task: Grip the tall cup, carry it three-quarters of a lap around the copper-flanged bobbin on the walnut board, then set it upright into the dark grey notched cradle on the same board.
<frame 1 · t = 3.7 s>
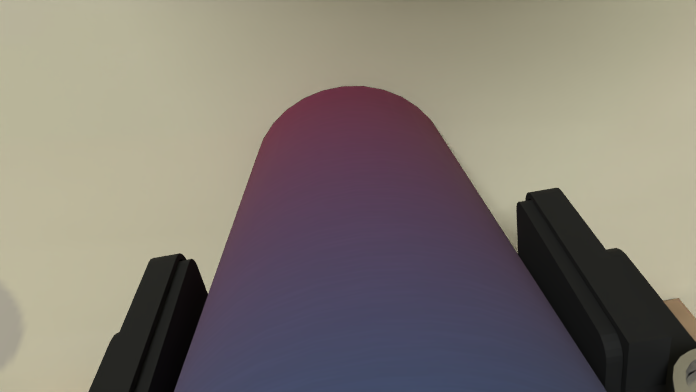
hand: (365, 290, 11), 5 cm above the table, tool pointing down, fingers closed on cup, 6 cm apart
cup: (351, 174, 15), on the table, touching gripper
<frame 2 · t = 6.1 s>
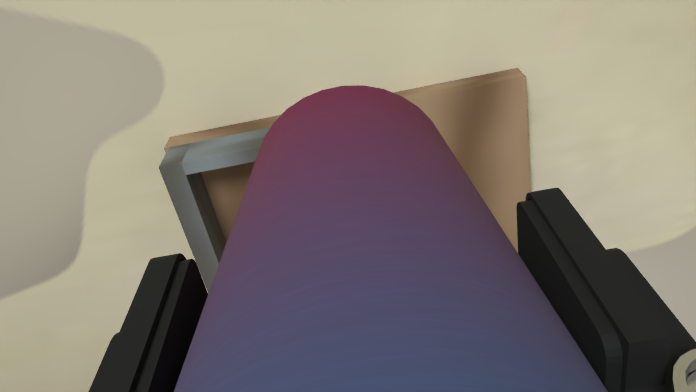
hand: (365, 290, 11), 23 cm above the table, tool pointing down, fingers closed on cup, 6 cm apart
cup: (352, 174, 15), point 18 cm above the table, touching gripper
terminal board: (365, 221, 37), on the table
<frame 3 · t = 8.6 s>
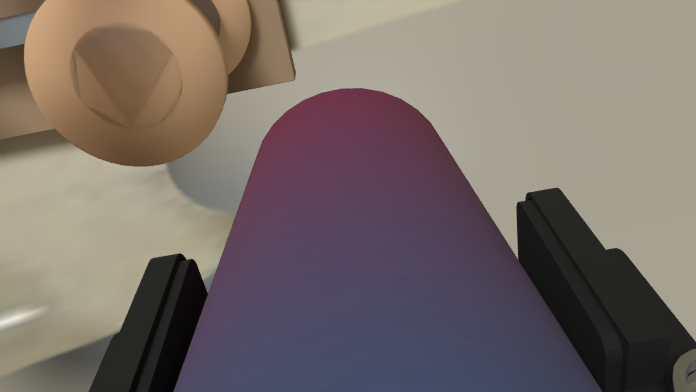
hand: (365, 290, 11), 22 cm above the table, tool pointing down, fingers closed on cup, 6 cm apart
cup: (351, 176, 15), point 17 cm above the table, touching gripper
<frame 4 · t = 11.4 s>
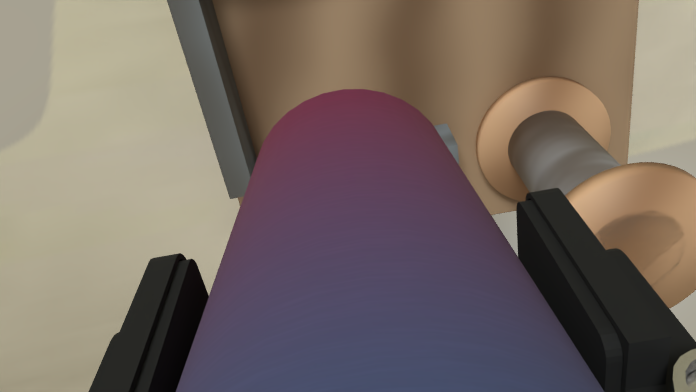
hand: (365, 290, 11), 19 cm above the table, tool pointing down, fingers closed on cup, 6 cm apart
cup: (352, 177, 15), point 14 cm above the table, touching gripper
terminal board: (416, 72, 29), on the table
when the fingers open (7 cm above the table, at t = 13.8 s): cup drops 1 cm, resting on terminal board.
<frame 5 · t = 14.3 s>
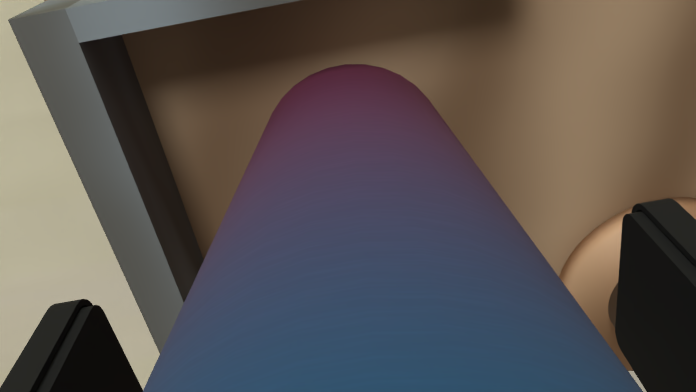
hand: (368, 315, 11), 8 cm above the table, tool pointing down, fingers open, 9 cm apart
cup: (353, 149, 17), point 1 cm above the table, touching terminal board
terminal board: (467, 184, 19), on the table
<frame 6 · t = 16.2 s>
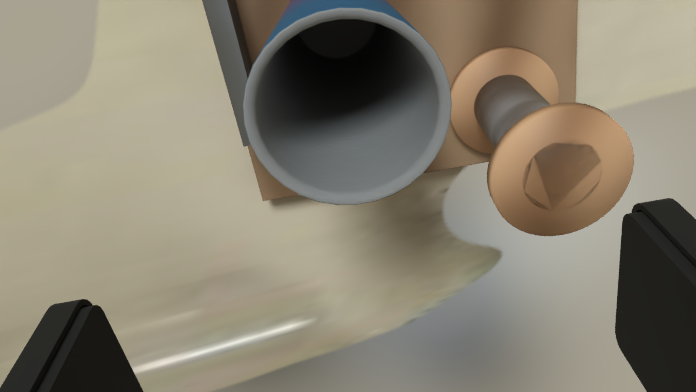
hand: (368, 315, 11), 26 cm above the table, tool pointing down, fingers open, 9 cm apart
cup: (335, 15, 32), point 1 cm above the table, touching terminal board
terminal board: (398, 44, 35), on the table
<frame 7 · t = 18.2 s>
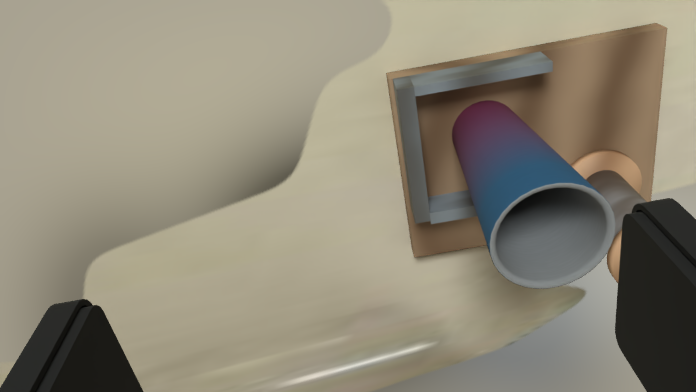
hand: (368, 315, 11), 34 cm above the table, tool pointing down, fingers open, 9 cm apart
cup: (483, 130, 45), point 1 cm above the table, touching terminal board
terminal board: (522, 145, 47), on the table
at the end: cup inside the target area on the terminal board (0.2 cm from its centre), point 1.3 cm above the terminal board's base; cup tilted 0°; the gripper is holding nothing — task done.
